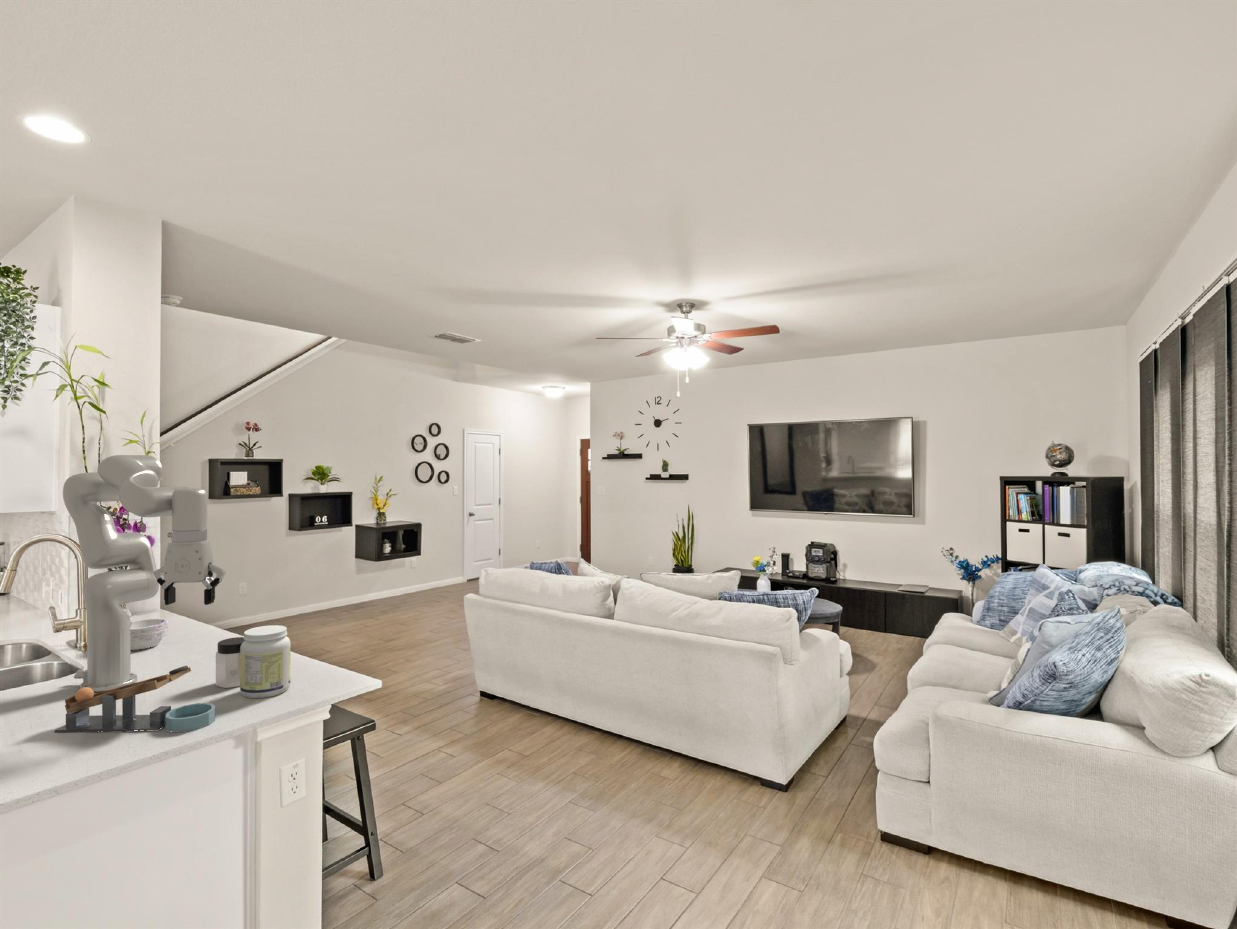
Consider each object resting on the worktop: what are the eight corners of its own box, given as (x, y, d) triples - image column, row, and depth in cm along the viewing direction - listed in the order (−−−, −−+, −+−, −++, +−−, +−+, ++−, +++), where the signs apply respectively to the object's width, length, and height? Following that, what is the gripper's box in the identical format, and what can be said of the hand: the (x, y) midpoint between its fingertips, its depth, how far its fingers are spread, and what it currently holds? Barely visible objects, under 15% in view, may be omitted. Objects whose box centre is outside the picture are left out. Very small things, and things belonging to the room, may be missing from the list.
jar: (216, 690, 176) (216, 647, 176) (215, 681, 183) (215, 639, 183) (253, 684, 181) (253, 642, 181) (251, 676, 188) (251, 635, 188)
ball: (73, 707, 151) (68, 693, 151) (85, 701, 155) (80, 687, 155) (88, 702, 152) (83, 688, 152) (99, 696, 155) (94, 683, 155)
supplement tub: (257, 683, 182) (257, 623, 182) (299, 684, 182) (299, 624, 182) (229, 699, 170) (229, 635, 170) (274, 700, 170) (275, 636, 170)
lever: (67, 713, 151) (63, 700, 151) (108, 693, 164) (104, 681, 164) (159, 688, 152) (155, 675, 152) (192, 670, 165) (189, 658, 165)
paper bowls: (119, 643, 220) (119, 620, 220) (172, 638, 227) (172, 616, 227) (105, 656, 206) (105, 631, 206) (162, 650, 213) (162, 626, 213)
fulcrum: (54, 732, 149) (54, 698, 149) (82, 718, 157) (82, 685, 157) (157, 731, 150) (157, 696, 150) (180, 716, 159) (180, 683, 159)
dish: (156, 732, 150) (156, 719, 150) (182, 715, 159) (182, 703, 159) (199, 731, 150) (199, 718, 150) (223, 714, 160) (223, 702, 160)
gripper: (144, 538, 160) (144, 607, 160) (215, 538, 161) (215, 607, 161) (164, 535, 168) (164, 600, 168) (232, 535, 168) (232, 600, 168)
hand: (189, 603), depth 164 cm, fingers open, 9 cm apart
